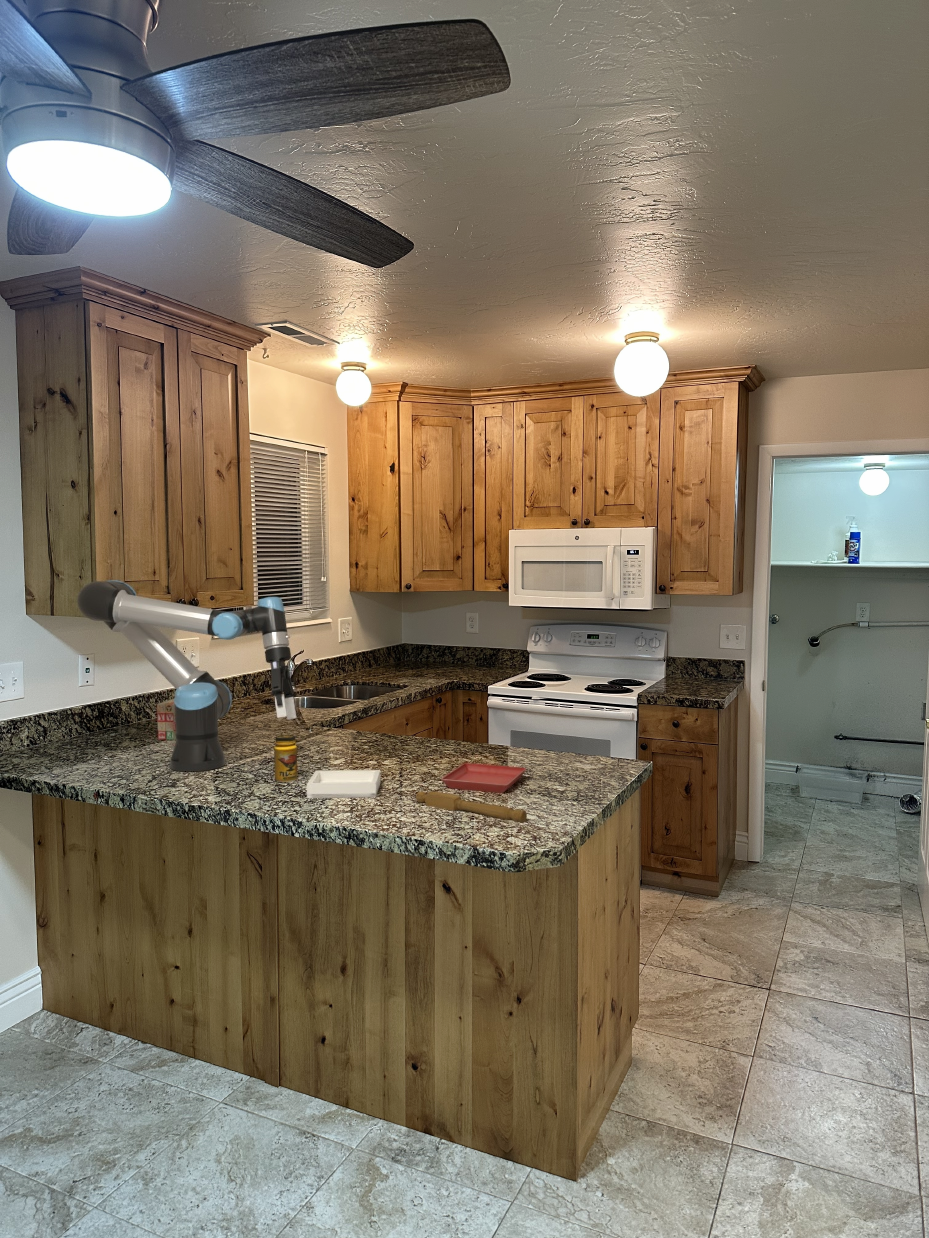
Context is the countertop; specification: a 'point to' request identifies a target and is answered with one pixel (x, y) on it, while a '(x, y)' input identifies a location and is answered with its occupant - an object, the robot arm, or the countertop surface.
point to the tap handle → (469, 806)
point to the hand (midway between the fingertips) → (287, 718)
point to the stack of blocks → (166, 720)
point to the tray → (344, 784)
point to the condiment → (285, 759)
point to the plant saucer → (483, 777)
